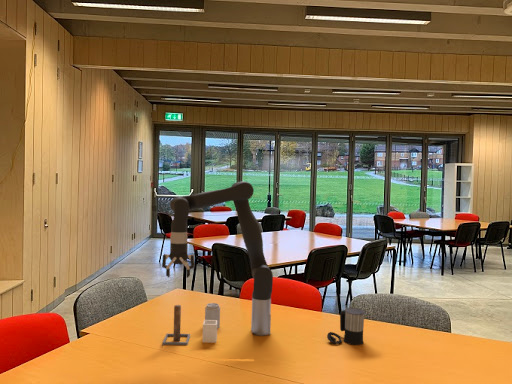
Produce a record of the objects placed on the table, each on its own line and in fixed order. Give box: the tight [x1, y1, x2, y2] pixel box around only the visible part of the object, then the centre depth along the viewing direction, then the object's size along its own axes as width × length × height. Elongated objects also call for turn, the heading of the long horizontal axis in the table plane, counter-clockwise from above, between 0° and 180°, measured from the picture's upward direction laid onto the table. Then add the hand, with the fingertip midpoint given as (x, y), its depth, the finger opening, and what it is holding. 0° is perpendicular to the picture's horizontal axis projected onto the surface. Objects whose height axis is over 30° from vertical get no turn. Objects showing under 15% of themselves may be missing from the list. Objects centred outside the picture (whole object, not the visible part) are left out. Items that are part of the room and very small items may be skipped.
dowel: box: [172, 304, 182, 342], centre depth 201 cm, size 3×3×16 cm
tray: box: [162, 333, 191, 347], centre depth 201 cm, size 11×11×2 cm
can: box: [204, 302, 221, 329], centre depth 220 cm, size 8×8×12 cm
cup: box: [201, 319, 218, 344], centre depth 202 cm, size 6×6×9 cm
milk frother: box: [326, 307, 366, 346], centre depth 207 cm, size 14×16×15 cm
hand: (178, 277), depth 200 cm, fingers open, 8 cm apart
